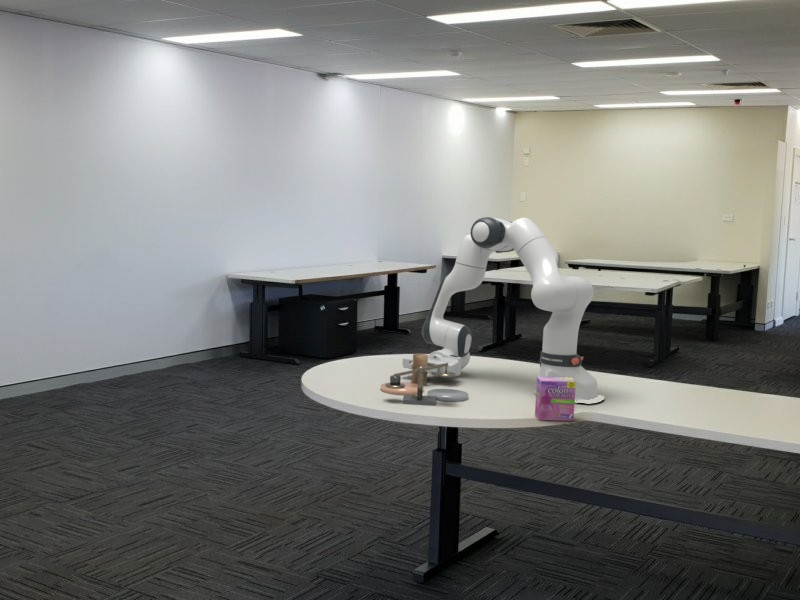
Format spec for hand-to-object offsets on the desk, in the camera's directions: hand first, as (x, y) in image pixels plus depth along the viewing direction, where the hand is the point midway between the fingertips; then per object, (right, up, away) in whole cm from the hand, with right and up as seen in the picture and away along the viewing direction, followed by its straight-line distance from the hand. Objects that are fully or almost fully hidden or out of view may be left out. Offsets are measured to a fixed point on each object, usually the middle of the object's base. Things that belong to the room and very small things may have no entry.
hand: (418, 368), depth 282 cm
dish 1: (-6, -6, -9) cm, 12 cm away
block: (0, -5, +1) cm, 6 cm away
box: (+39, -12, -38) cm, 55 cm away
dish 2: (+9, -8, -16) cm, 20 cm away
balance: (0, -8, -25) cm, 26 cm away
